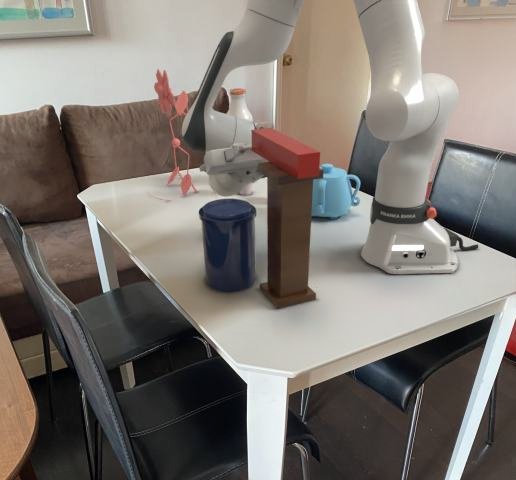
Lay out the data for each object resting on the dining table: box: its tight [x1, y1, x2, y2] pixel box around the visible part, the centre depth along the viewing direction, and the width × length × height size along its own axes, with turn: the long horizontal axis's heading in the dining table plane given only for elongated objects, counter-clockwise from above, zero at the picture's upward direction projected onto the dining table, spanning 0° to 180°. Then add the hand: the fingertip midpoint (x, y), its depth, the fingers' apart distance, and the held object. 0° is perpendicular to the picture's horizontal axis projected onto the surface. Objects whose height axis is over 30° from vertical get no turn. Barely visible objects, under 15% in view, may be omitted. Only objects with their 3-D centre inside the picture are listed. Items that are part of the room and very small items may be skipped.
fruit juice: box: [225, 88, 254, 123], centre depth 163 cm, size 9×9×28 cm
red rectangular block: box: [251, 127, 321, 179], centre depth 93 cm, size 20×4×4 cm, turn 24°
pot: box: [198, 198, 257, 293], centre depth 109 cm, size 12×12×17 cm
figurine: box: [149, 68, 198, 202], centre depth 152 cm, size 15×26×35 cm, turn 29°
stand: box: [258, 162, 324, 310], centre depth 100 cm, size 9×9×27 cm
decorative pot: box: [311, 163, 361, 220], centre depth 142 cm, size 16×16×14 cm
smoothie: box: [239, 183, 253, 196], centre depth 157 cm, size 6×6×14 cm
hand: (262, 145), depth 101 cm, fingers open, 8 cm apart
